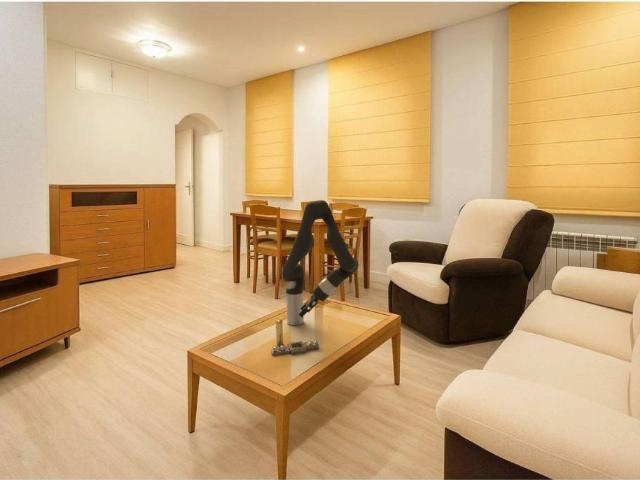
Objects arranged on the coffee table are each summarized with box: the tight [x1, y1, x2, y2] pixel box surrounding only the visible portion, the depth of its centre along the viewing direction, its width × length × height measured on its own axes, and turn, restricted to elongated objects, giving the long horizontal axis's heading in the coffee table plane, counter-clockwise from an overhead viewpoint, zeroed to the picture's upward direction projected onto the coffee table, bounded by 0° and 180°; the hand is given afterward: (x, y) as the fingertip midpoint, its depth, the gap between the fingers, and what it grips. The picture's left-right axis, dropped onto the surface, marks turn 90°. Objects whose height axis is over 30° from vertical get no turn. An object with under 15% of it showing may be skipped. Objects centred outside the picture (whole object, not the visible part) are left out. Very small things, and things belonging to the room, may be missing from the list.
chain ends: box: [270, 340, 320, 357], centre depth 177 cm, size 8×22×3 cm, turn 107°
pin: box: [275, 319, 284, 347], centre depth 184 cm, size 3×3×12 cm
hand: (301, 313), depth 182 cm, fingers open, 8 cm apart
